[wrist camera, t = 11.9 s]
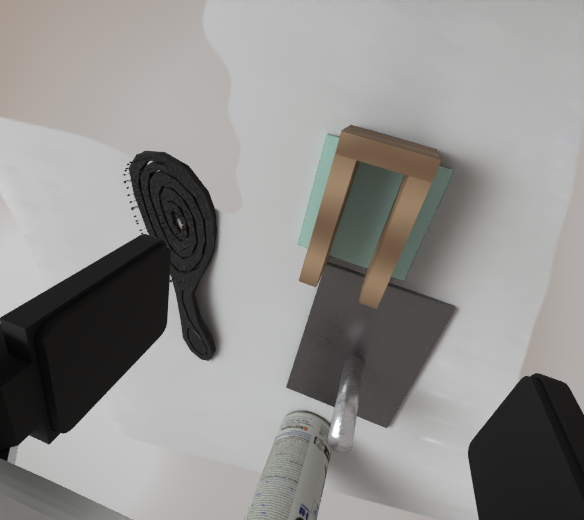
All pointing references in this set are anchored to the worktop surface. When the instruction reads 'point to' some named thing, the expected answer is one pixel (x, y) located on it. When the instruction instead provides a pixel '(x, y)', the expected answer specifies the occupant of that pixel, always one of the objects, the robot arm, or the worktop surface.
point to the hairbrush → (178, 232)
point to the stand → (363, 350)
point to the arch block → (411, 194)
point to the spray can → (294, 471)
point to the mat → (370, 211)
